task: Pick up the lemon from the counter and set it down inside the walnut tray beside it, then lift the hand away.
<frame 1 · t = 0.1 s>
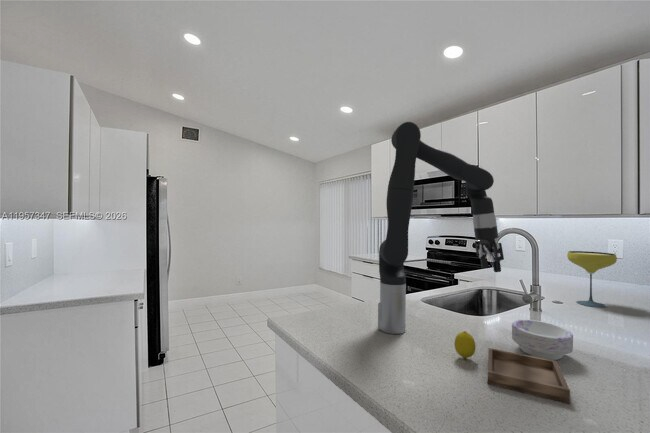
hand: (491, 269, 110), 22 cm above the counter, tool pointing down, fingers open, 8 cm apart
lemon: (464, 359, 88), on the counter
paper bowls: (540, 354, 92), on the counter
walnut tray: (523, 377, 77), on the counter
cocktail glass: (590, 304, 147), on the counter
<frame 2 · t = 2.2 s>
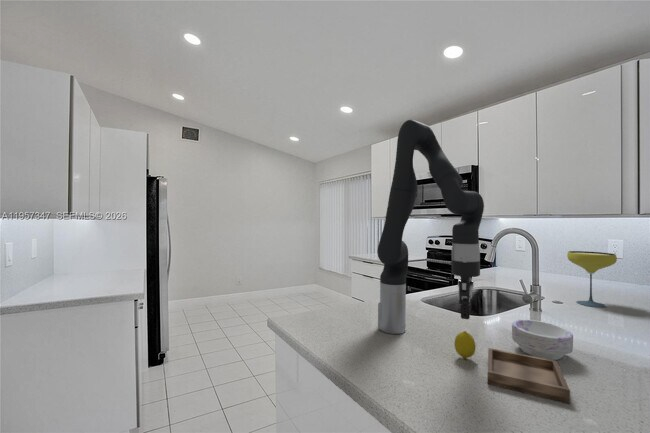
hand: (466, 314, 88), 13 cm above the counter, tool pointing down, fingers open, 8 cm apart
nothing on the counter moved.
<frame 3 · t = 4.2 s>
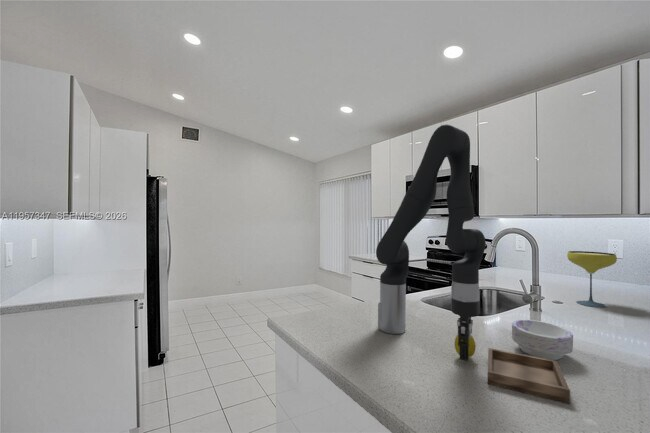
hand: (464, 355, 88), 1 cm above the counter, tool pointing down, fingers closed on lemon, 5 cm apart
lemon: (464, 359, 88), on the counter, touching gripper
everything else where it was.
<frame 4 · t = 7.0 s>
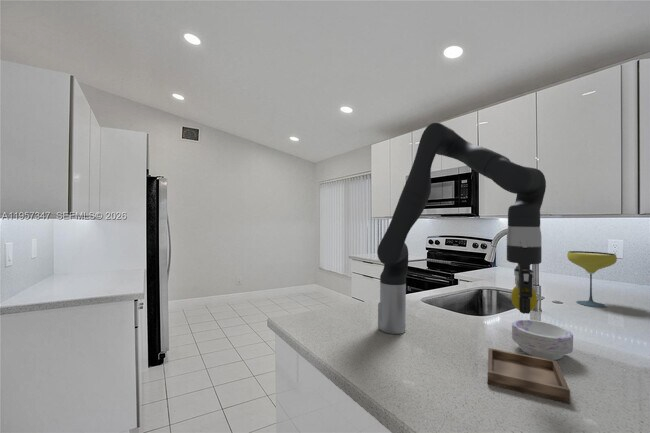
hand: (523, 309, 78), 18 cm above the counter, tool pointing down, fingers closed on lemon, 5 cm apart
lemon: (523, 314, 78), point 16 cm above the counter, touching gripper
everything else where it was.
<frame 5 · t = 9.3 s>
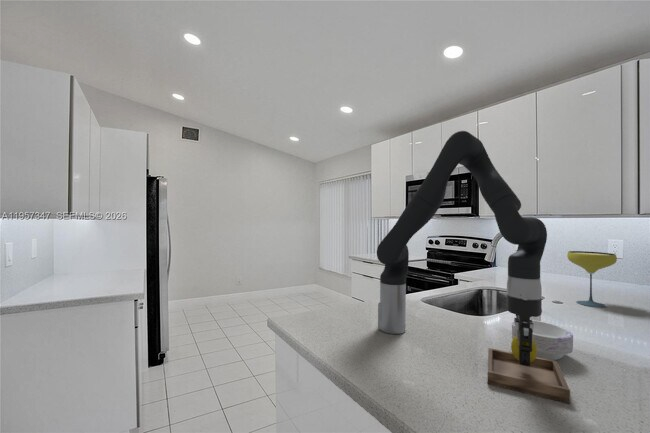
hand: (523, 359, 78), 5 cm above the counter, tool pointing down, fingers closed on lemon, 5 cm apart
lemon: (523, 364, 78), point 3 cm above the counter, touching gripper
everything else where it was.
when the fingers open (4 cm above the counter, at t = 10.1 s): lemon drops 1 cm, resting on walnut tray.
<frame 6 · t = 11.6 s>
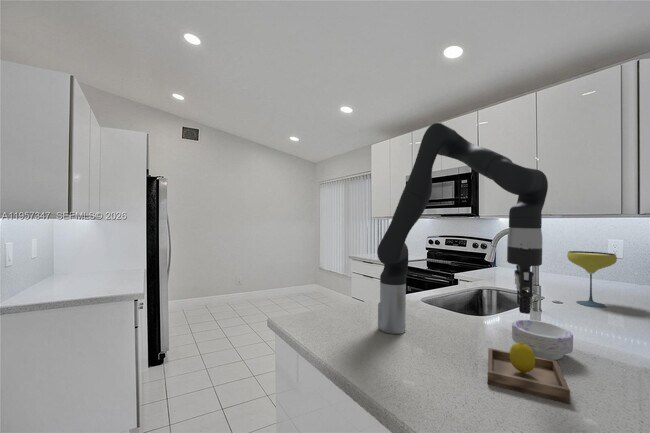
hand: (523, 308, 77), 18 cm above the counter, tool pointing down, fingers open, 8 cm apart
lemon: (522, 374, 77), point 1 cm above the counter, touching walnut tray
everything else where it was.
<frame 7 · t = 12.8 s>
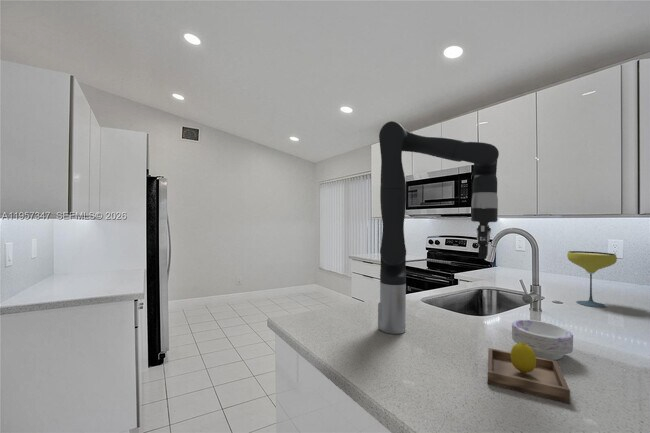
hand: (483, 257, 97), 28 cm above the counter, tool pointing down, fingers open, 8 cm apart
nothing on the counter moved.
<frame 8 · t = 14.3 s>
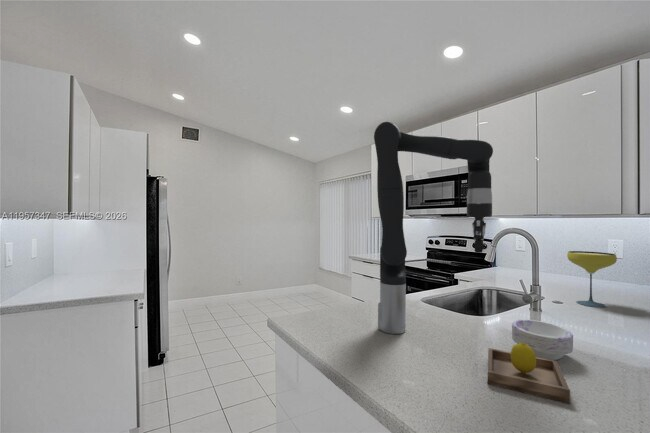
hand: (479, 251, 100), 30 cm above the counter, tool pointing down, fingers open, 8 cm apart
nothing on the counter moved.
at the end: lemon inside the target area on the walnut tray (0.1 cm from its centre), point 0.8 cm above the walnut tray's base; the gripper is holding nothing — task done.
